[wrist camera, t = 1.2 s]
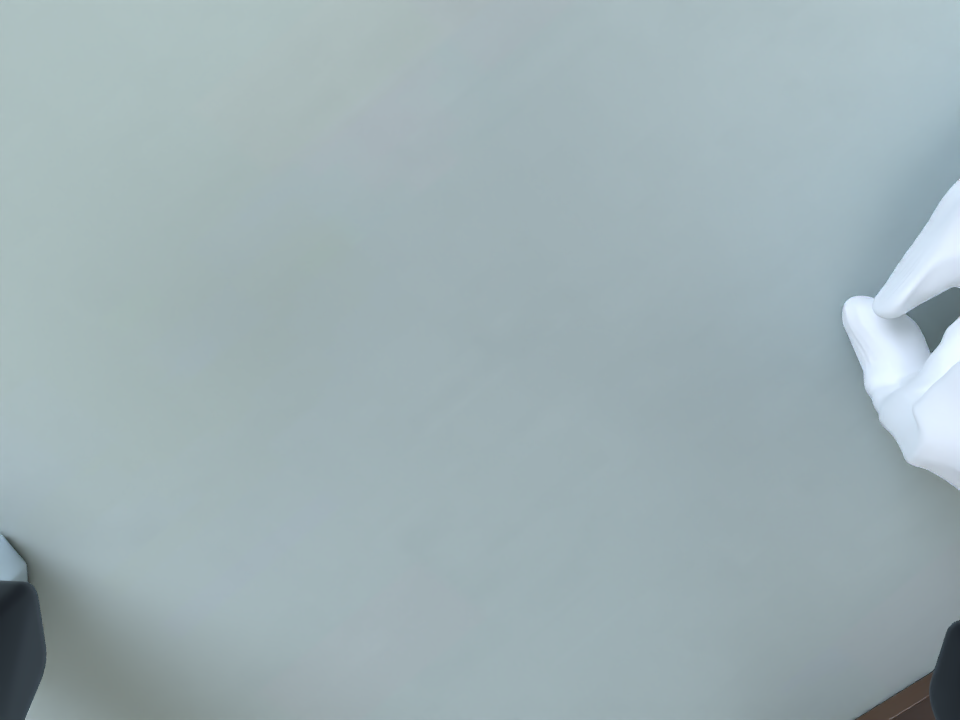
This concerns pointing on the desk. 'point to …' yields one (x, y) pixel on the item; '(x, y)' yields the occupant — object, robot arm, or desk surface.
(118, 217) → the desk surface
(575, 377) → the desk surface
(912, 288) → the white animal figurine
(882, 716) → the drawer unit
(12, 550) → the milkshake
